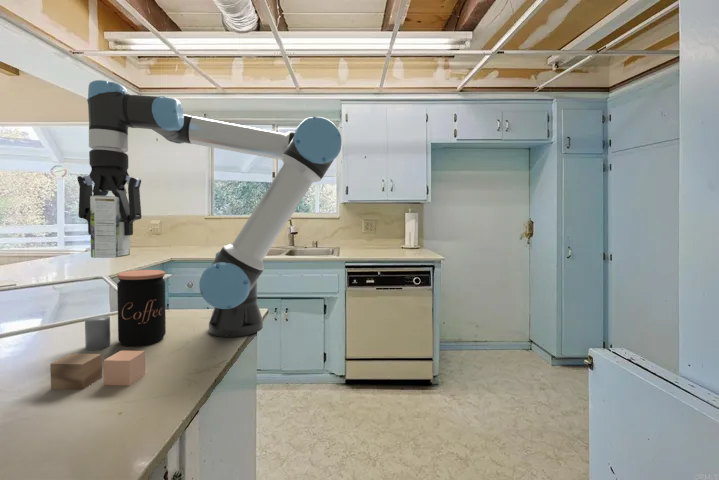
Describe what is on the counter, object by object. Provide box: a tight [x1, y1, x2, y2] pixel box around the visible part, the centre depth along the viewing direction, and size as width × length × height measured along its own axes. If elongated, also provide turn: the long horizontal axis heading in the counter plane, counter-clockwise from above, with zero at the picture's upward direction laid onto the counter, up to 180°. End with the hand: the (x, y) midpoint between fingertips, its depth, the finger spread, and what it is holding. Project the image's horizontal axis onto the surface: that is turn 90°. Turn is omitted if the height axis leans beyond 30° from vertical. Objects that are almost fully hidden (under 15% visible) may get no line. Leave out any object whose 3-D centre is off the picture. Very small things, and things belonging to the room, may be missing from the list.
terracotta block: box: [103, 350, 146, 386], centre depth 70 cm, size 5×5×5 cm
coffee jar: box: [116, 269, 167, 348], centre depth 92 cm, size 11×11×18 cm
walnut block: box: [49, 353, 103, 391], centre depth 68 cm, size 6×5×5 cm
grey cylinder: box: [84, 315, 111, 351], centre depth 87 cm, size 5×5×7 cm
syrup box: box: [90, 195, 131, 259], centre depth 84 cm, size 6×6×14 cm
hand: (111, 248), depth 84 cm, fingers closed on syrup box, 6 cm apart
